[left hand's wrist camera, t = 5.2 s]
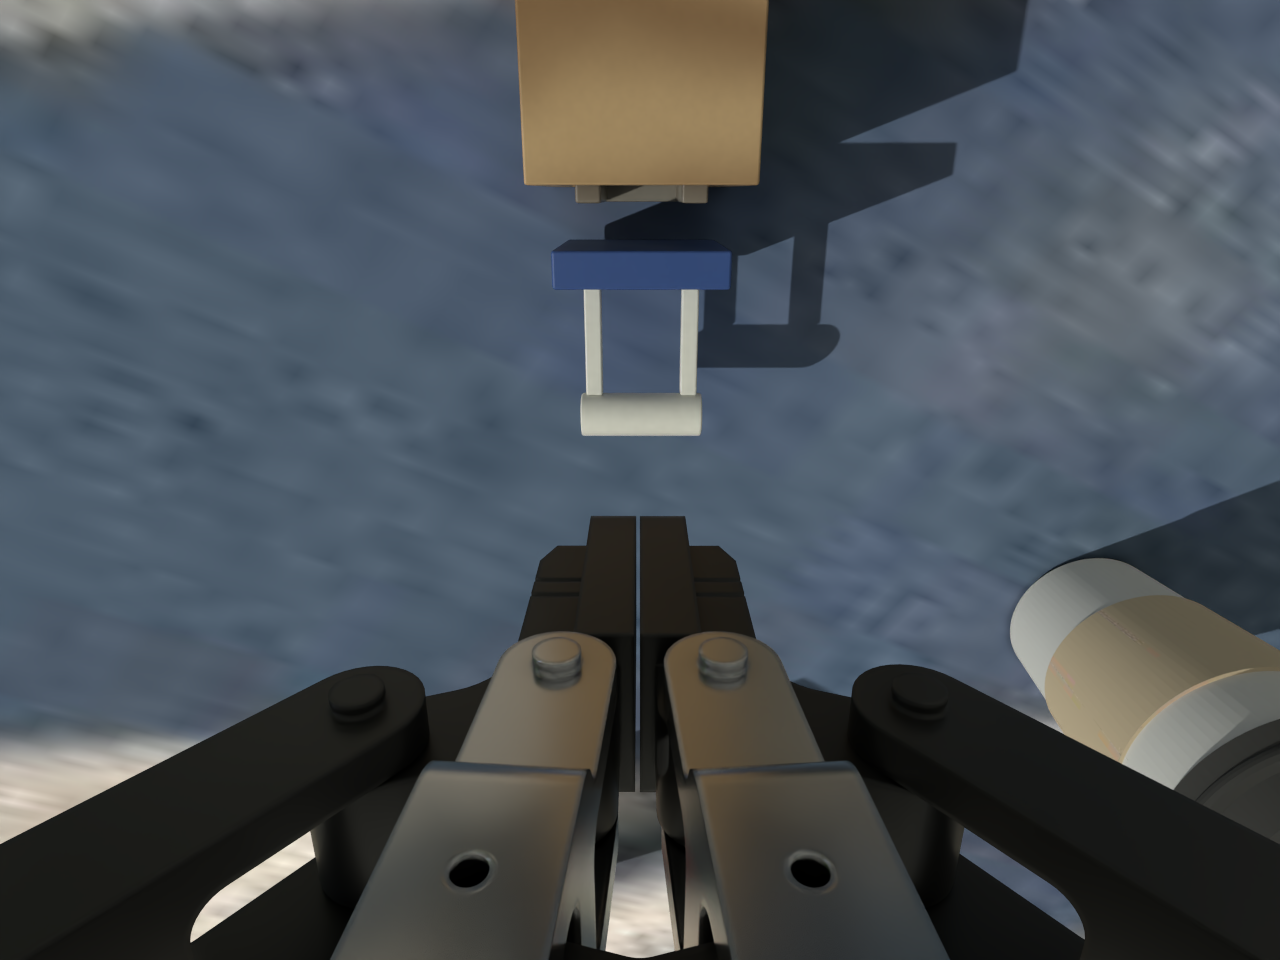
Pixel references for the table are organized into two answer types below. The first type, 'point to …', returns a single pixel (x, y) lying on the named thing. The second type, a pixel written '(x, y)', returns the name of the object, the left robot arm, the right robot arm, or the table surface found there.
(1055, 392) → the table surface
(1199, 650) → the coffee cup
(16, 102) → the table surface
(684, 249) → the drawer
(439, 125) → the table surface
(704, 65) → the cabinet
